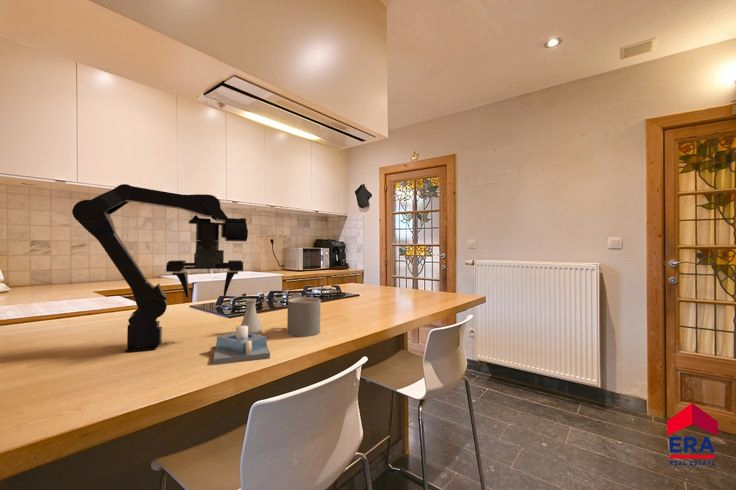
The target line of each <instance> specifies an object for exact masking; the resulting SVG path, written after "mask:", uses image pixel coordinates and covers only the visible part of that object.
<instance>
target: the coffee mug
mask: <svg viewBox="0 0 736 490" xmlns="http://www.w3.org/2000/svg"><path fill="white" fill-rule="evenodd" d="M321 302H322V301H321V299H320V298H317V297H294V298H293V297H292V298H289V299H288V300H287V325H286V326H287V327H286V328H287V331H286V332H287V335H288V336H290V337H291V336H292V337H299V338H302V337H303V338H304V337H305V338H307V337H313V336H317V335H319V334H320V333H321Z"/></svg>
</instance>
